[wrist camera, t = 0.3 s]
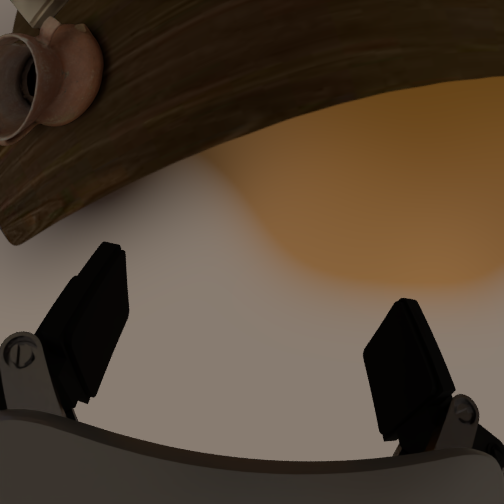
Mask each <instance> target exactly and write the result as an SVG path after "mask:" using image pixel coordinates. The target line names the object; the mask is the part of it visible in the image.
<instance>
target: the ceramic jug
mask: <svg viewBox="0 0 504 504" xmlns="http://www.w3.org/2000/svg"><path fill="white" fill-rule="evenodd" d="M18 40H22V41H23V42H25V43H26V44H20V43H14V42H15V41H18ZM103 68H104V61H103V54H102V51H101V48H100V45H99V43H98V42H97V40H96V39H95V37H94V36H93V35H92V34H91V32H90V30H89V29H88V27H87V26H86V25H85V24H77V25H74V24H62V25H61V23H60V22H58V21H57V20H56V19H55V18H53V17H52V16H50V17H48V18H47V19H46V20H45V21H44V22H43V24H42V26H41V29H40V34H39V35H38V36H37V37H32V36H29V35H26V34H21V33H10V34H5V35H2V36H0V145H3V146H6V145H11V144H14V143H16V142H17V141H19V140H20V139H22V138H23V137H24V136H25V135H26V134H27V133H28V132H29V131H30V130H32V129H33V128H34V127H35V126H36V125H37V124H43V125H46V126H62V125H65V124H68V123H70V122H72V121H74V120H75V119H77V118H78V117H79V116H81V115H82V114H83V113H84V112H85V111H86V110H87V109H88V107H89V106H90V105H91V103H92V102H93V100H94V99H95V97H96V95H97V93H98V91H99V88H100V85H101V81H102V74H103Z"/></svg>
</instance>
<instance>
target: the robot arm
mask: <svg viewBox="0 0 504 504" xmlns="http://www.w3.org/2000/svg"><path fill="white" fill-rule="evenodd" d="M127 289H128V288H127V273H126V254H125V251H124V250H121V247H120V245H118V244H113V243H109V242H102V244H101V245H100V246H99V247H98V248H97V250H96V251H95V253H94V254H93V255H92V256H91V258H90V259H89V260H88V262H87V263H86V265H85V266H84V267H83V269H82V270H81V271H80V273H79V274H78V276H74V277H73V278H72V279H71V280H70V281H69V283H68V284H67V286H66V287H65V288H64V290H63V291H62V293H61V294H60V296H59V297H58V299H57V300H56V302H55V303H54V304H53V306H52V307H51V309H50V310H49V312H48V314H47V315H46V317H45V318H44V320H43V321H42V323H41V325H40V326H39V328H38V329H37V331H36V333H35V334H32V333H29V332H16V333H14V334H12V335H10V336H9V337H7V338H6V339H5V340H4V342H3V343H2V344H1V347H0V504H504V445H503V444H502V442H501V441H500V440H499V439H497V438H496V437H495V436H493V435H492V434H491V433H490V432H488V431H487V430H486V429H485V428H483V427H482V426H481V425H479V424H478V422H479V411H478V408H477V406H476V404H475V403H474V401H473V400H471V398H470V397H468V396H466V395H463V394H459V395H456V396H455V397H453V398H452V395H451V394H452V393H453V392H454V391H455V386H454V384H453V381H452V379H451V376H450V374H449V371H448V369H447V366H446V364H445V362H444V359H443V357H442V354H441V352H440V350H439V347H438V345H437V343H436V340H435V338H434V336H433V334H432V332H431V329H430V327H429V325H428V323H427V321H426V319H425V316H424V314H423V313H422V310H421V308H420V306H419V304H418V302H417V301H416V300H413V299H407V298H401V299H399V301H397V302H395V303H394V305H393V306H392V308H391V309H390V311H389V313H388V314H387V316H386V318H385V319H384V320H383V322H382V324H381V325H380V327H379V328H378V330H377V331H376V333H375V334H374V336H373V337H372V339H371V340H370V342H369V343H368V344H367V346H366V348H365V349H364V352H363V358H364V363H365V367H366V371H367V375H368V380H369V384H370V388H371V393H372V398H373V402H374V407H375V412H376V417H377V422H378V427H379V432H380V433H381V434H383V439H384V441H394V440H397V439H399V445H398V447H397V449H396V450H395V452H394V454H393V456H392V457H384V458H375V459H363V460H347V461H315V462H314V461H313V462H312V461H310V462H307V461H275V460H260V459H248V458H238V457H229V456H222V455H214V454H207V453H201V452H195V451H190V450H184V449H178V448H174V447H169V446H164V445H160V444H156V443H152V442H148V441H144V440H140V439H136V438H132V437H128V436H124V435H121V434H117V433H114V432H110V431H107V430H104V429H101V428H97V427H94V426H91V425H88V424H85V423H81V422H78V419H77V417H76V415H75V412H74V409H73V408H75V407H76V404H77V401H80V402H84V403H86V404H88V402H89V400H90V397H95V396H96V394H97V392H98V389H99V386H100V384H101V381H102V379H103V376H104V374H105V371H106V369H107V366H108V364H109V361H110V359H111V356H112V353H113V351H114V349H115V347H116V344H117V342H118V339H119V337H120V335H121V333H122V330H123V328H124V326H125V323H126V321H127V319H128V316H129V302H128V290H127Z"/></svg>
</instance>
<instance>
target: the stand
mask: <svg viewBox="0 0 504 504" xmlns="http://www.w3.org/2000/svg"><path fill="white" fill-rule="evenodd" d="M10 1H11V2H12V3H13V4H14V6H15V7H16V8H17V9H18V11H19V12H20V13H21V14H22V16H23V17H24V18H25V19H26V20H27V22H28V23H29V24H30V25H31V27H32V28H41V26H42V24H43V22H44V21H45V20H46V19H47V18H48V17H50V16H52V17H53V18H54V16H55V15H56V14H57V13H58V12H59V10H60V9H61V8H62V7H63V6H64V5H65V3H66V2H67V1H68V0H10Z"/></svg>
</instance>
